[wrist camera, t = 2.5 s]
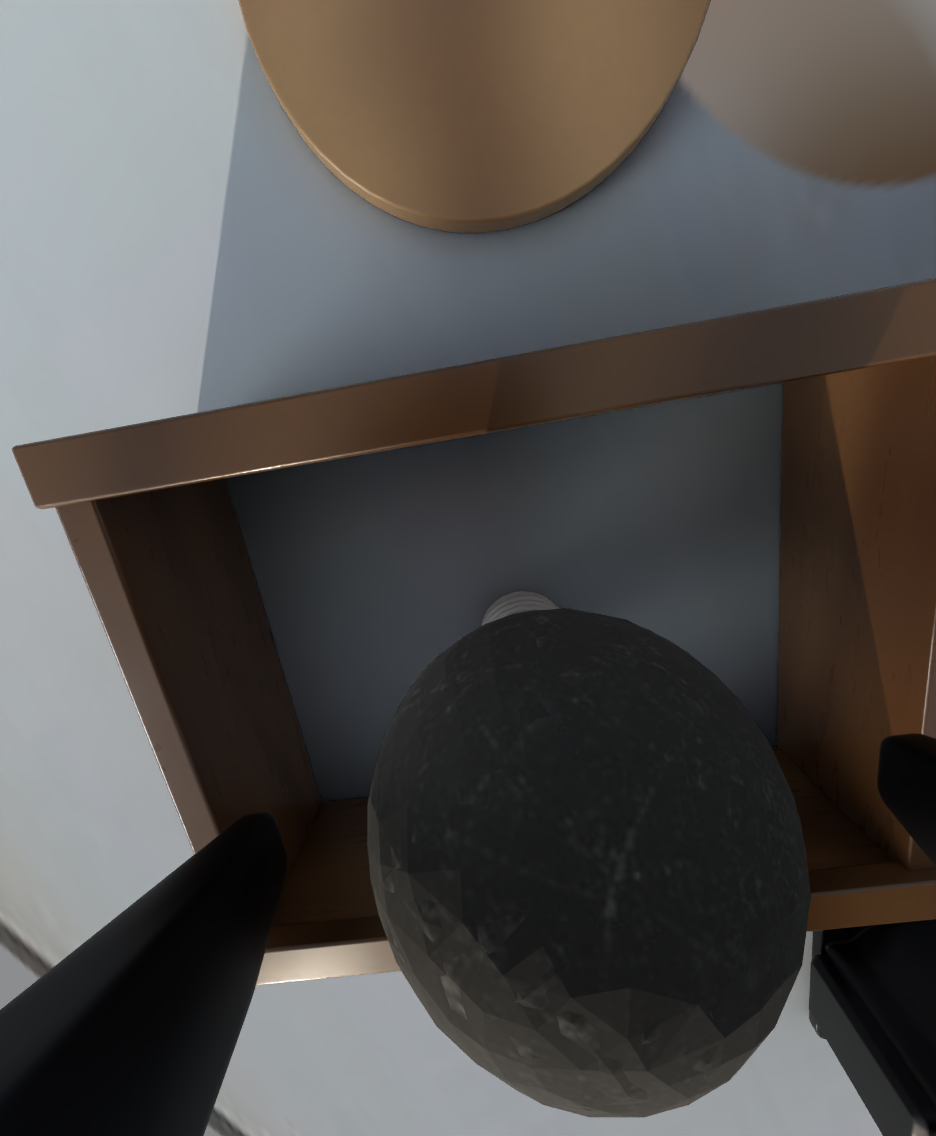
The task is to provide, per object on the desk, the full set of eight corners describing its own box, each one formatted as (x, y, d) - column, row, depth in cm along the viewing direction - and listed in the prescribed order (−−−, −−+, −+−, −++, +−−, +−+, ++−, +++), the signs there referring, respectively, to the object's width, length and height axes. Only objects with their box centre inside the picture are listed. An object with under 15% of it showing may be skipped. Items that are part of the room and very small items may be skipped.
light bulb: (435, 708, 14) (343, 1266, 5) (417, 534, 13) (227, 809, 3) (613, 699, 14) (919, 1266, 4) (616, 521, 12) (1088, 773, 3)
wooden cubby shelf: (817, 335, 11) (1057, 254, 7) (802, 767, 14) (956, 919, 10) (186, 447, 12) (7, 446, 8) (305, 827, 15) (232, 988, 11)
